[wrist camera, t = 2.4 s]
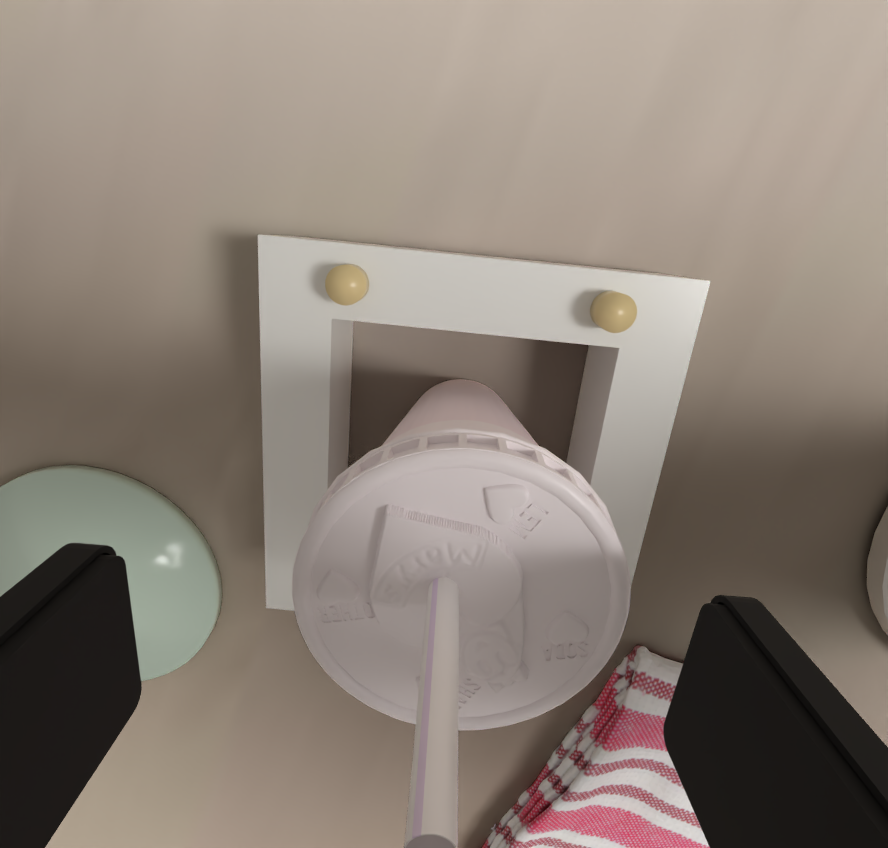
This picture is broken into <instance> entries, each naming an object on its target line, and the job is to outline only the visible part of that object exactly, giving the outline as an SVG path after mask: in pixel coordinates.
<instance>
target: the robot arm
mask: <svg viewBox="0 0 888 848" xmlns="http://www.w3.org/2000/svg"><path fill="white" fill-rule="evenodd" d="M867 590H868V594H869V599H870V603H871V607H872V611H873V612H874V614H875V616H876V618H877V620H878V622H879V624H880V625H881V627H882V629H883V631H884V632H885V633H886V634H887V635H888V506H887V508H886V511H885V513H884V515H883V517H882V519H881V521H880V523H879V525H878V527H877V529H876V531H875V533H874V537H873V541H872V545H871V549H870V552H869V556H868V560H867ZM140 695H141V677H140V670H139V662H138V654H137V647H136V639H135V631H134V624H133V616H132V608H131V601H130V593H129V586H128V578H127V570H126V564H125V560H124V559H123V557H121V556H117V555H116V552H115V550H114V549H113V548H112V547H111V546H108V545H97V544H84V543H68V544H66V545H64V546H63V547H61V548H60V549H59V550H58V551H56V552H55V553H54V554H53V555H51V556H50V557H49V558H48V559H46V560H45V561H44V562H43V563H41V564H40V565H39V566H38V567H36V568H35V569H34V570H33V571H32V572H30V573H29V574H28V575H27V576H25V577H24V578H23V579H22V580H20V581H19V582H18V583H17V584H15V585H14V586H13V587H12V588H10V589H9V590H8V591H7V592H5V593H4V594H3V595H2V596H0V848H45V847H46V845H47V844H48V842H49V840H50V839H51V837H52V836H53V834H54V833H55V831H56V830H57V828H58V827H59V825H60V824H61V822H62V821H63V819H64V818H65V816H66V815H67V813H68V811H69V810H70V808H71V807H72V805H73V804H74V802H75V801H76V799H77V798H78V796H79V795H80V793H81V792H82V790H83V789H84V787H85V786H86V784H87V782H88V781H89V779H90V778H91V776H92V775H93V773H94V772H95V770H96V769H97V767H98V766H99V764H100V763H101V761H102V760H103V758H104V757H105V755H106V753H107V752H108V750H109V749H110V747H111V746H112V744H113V743H114V741H115V740H116V738H117V737H118V735H119V734H120V732H121V731H122V729H123V728H124V726H125V725H126V723H127V721H128V720H129V718H130V717H131V715H132V714H133V712H134V710H135V709H136V707H137V704H138V702H139V699H140ZM663 734H664V741H665V745H666V748H667V751H668V753H669V756H670V758H671V760H672V762H673V765H674V767H675V769H676V772H677V774H678V776H679V778H680V781H681V783H682V785H683V788H684V790H685V792H686V794H687V797H688V799H689V801H690V804H691V806H692V808H693V810H694V813H695V815H696V817H697V820H698V822H699V824H700V826H701V829H702V831H703V833H704V836H705V838H706V840H707V842H708V845H709V847H710V848H888V747H887V746H886V745H885V744H884V743H883V742H882V740H881V739H880V738H879V737H878V736H877V735H876V734H875V732H874V731H873V730H872V729H871V728H870V727H869V726H868V724H867V723H866V722H865V721H864V720H863V719H862V718H861V716H860V715H859V714H858V713H857V712H856V711H855V710H854V708H853V707H852V706H851V705H850V704H849V703H848V702H847V700H846V699H845V698H844V697H843V696H842V695H841V694H840V692H839V691H838V690H837V689H836V688H835V687H834V686H833V684H832V683H831V682H830V681H829V680H828V679H827V678H826V676H825V675H824V674H823V673H822V672H821V671H820V670H819V668H818V667H817V666H816V665H815V664H814V663H813V662H812V660H811V659H810V658H809V657H808V656H807V655H806V653H805V652H804V651H803V650H802V649H801V648H800V647H799V645H798V644H797V643H796V642H795V641H794V640H793V639H792V637H791V636H790V635H789V634H788V633H787V632H786V631H785V629H784V628H783V627H782V626H781V625H780V624H779V623H778V621H777V620H776V619H775V618H774V617H773V616H772V615H771V613H770V612H769V611H768V610H767V609H766V608H765V607H764V605H763V604H762V603H761V602H759V601H758V600H757V599H754V598H749V597H737V596H724V595H719V596H715V597H714V598H713V599H712V601H711V603H708V604H705V605H703V606H702V608H701V610H700V613H699V616H698V619H697V623H696V626H695V629H694V632H693V635H692V638H691V641H690V644H689V647H688V650H687V654H686V657H685V660H684V663H683V666H682V669H681V672H680V675H679V678H678V681H677V685H676V688H675V691H674V694H673V697H672V700H671V703H670V706H669V709H668V712H667V716H666V719H665V722H664V727H663Z"/></svg>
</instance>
